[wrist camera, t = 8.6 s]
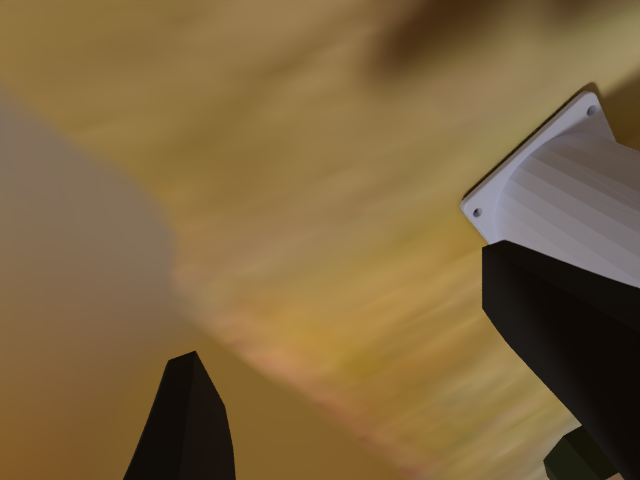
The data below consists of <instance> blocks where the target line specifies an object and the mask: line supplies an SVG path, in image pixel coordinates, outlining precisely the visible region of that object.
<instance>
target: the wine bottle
mask: <svg viewBox="0 0 640 480" xmlns="http://www.w3.org/2000/svg"><path fill="white" fill-rule="evenodd" d="M544 465H545V469H546V473H547V476H548V478H549V479H550V480H624V479H623V478H622V476H621V475H620V473H619V472H618V471H617V469H616V468H615V467H614V465H613V464H612V463H611V461H610V460H609V459H608V458H607V456H606V455H605V454H604V452H603V451H602V450H601V448H600V447H599V446H598V445H597V443H596V442H595V441H594V439H593V438H592V437H591V435H590V434H589V433H588V432H587V430H586V429H585V428H584V427H583V426H581V427H579V428H577V429H576V430H574V431H572V432H570V433H568V434H567V435H565V436H563V437H562V439H561V440H560V441H559V442H558V443H557V445H556V446H555V447H554V448H553V450H552V451H551V452H550V453H549V454H548V456H547V457H546V458H545V459H544Z"/></svg>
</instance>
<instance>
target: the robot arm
mask: <svg viewBox="0 0 640 480" xmlns="http://www.w3.org/2000/svg"><path fill="white" fill-rule="evenodd" d="M589 107H590V109H589V111H588V112H587V110H588V108H589ZM477 208H478V210H477V211H476V213H474V211H475V210H476V209H477ZM461 210H462V212H463V213H464V214H465V215H466V217H467V218H468V219H469V220H470V222H471V223H472V224H473V225H474V226H475V228H476V229H477V230H478V231H479V233H480V234H481V235H482V236H483V237H484V239H485V240H486V241H487V242H488V243H489V245H487V246H485V247H482V309H483V310H484V312H485V313H486V314H487V316H488V317H489V319H490V320H491V322H492V323H493V325H494V326H495V328H496V329H497V330H498V332H499V333H500V334H501V336H502V337H503V338H504V340H505V341H506V342H507V343H508V345H509V346H510V347H511V348H512V349H513V350H514V351H515V352H516V353H517V354H518V356H519V357H520V358H521V359H522V360H523V361H524V362H525V363H526V364H527V365H528V367H529V368H530V369H531V370H532V371H533V372H534V373H535V374H536V375H537V376H538V377H539V378H540V379H541V380H542V382H543V383H544V384H545V385H546V386H547V387H548V388H549V389H550V390H551V391H552V392H553V393H554V394H555V396H556V397H557V398H558V399H559V400H560V401H561V402H562V403H563V404H564V405H565V406H566V407H567V408H568V410H569V411H570V412H571V413H572V414H573V415H574V416H575V417H576V419H577V420H578V421H579V422H580V423H581V424H582V426H583V427H584V428H585V429H586V430H587V432H588V433H589V434H590V435H591V437H592V438H593V439H594V441H595V442H596V443H597V445H598V446H599V447H600V448H601V450H602V451H603V452H604V454H605V455H606V456H607V458H608V459H609V460H610V461H611V463H612V464H613V465H614V467H615V468H616V469H617V471H618V472H619V473H620V475H621V476H622V478H623V479H624V480H640V151H637V150H635V149H632V148H630V147H627V146H624V145H622V144H619V143H617V142H616V140H615V137H614V135H613V133H612V130H611V128H610V126H609V123H608V121H607V119H606V117H605V114H604V112H603V110H602V107H601V105H600V103H599V100H598V98H597V96H596V94H595V93H593V92H590V91H583V92H581V93H580V94H578V95H577V96H576V97H575V98H574V99H573V100H572V101H571V102H570V103H569V104H567V105H566V106H565V107H564V108H563V109H562V110H561V111H560V112H559V113H558V114H556V115H555V116H554V117H553V118H552V119H551V120H550V121H549V122H548V123H547V124H545V125H544V126H543V127H542V128H541V129H540V130H539V131H538V132H537V133H536V134H535V135H533V136H532V137H531V138H530V139H529V140H528V141H527V142H526V143H525V144H524V145H522V146H521V147H520V148H519V149H518V150H517V151H516V152H515V153H514V154H513V155H511V156H510V157H509V158H508V159H507V160H506V161H505V162H504V163H503V164H502V165H500V166H499V167H498V168H497V169H496V170H495V171H494V172H493V173H492V174H491V175H489V176H488V177H487V178H486V179H485V180H484V181H483V182H482V183H481V184H480V185H478V186H477V187H476V188H475V189H474V190H473V191H472V192H471V193H470V194H469V195H467V196H466V197H465V198H464V199H463V201H462V203H461ZM473 213H474V214H473ZM123 480H236V477H235V465H234V453H233V445H232V440H231V434H230V429H229V425H228V419H227V414H226V409H225V406H224V404H223V402H222V400H221V398H220V396H219V394H218V392H217V391H216V389H215V386H214V385H213V383H212V381H211V379H210V377H209V375H208V373H207V371H206V370H205V368H204V366H203V364H202V362H201V360H200V358H199V357H198V354H197V353H196V351H193V352H190V353H187V354H185V355H182V356H179V357H176V358H174V359H171V360H169V361H168V363H167V365H166V367H165V370H164V373H163V376H162V379H161V382H160V385H159V389H158V391H157V394H156V397H155V400H154V403H153V406H152V408H151V411H150V414H149V417H148V419H147V422H146V425H145V427H144V430H143V432H142V435H141V437H140V440H139V443H138V445H137V448H136V450H135V453H134V455H133V458H132V460H131V463H130V465H129V467H128V469H127V472H126V474H125V476H124V478H123Z"/></svg>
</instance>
